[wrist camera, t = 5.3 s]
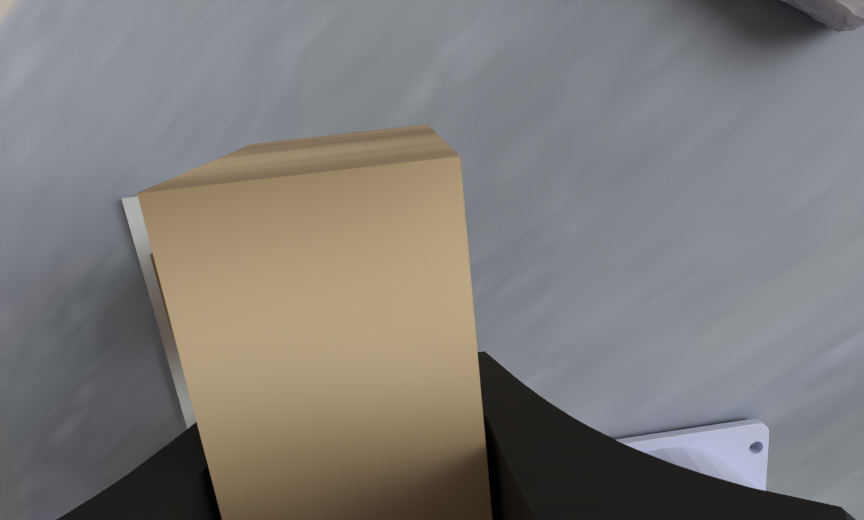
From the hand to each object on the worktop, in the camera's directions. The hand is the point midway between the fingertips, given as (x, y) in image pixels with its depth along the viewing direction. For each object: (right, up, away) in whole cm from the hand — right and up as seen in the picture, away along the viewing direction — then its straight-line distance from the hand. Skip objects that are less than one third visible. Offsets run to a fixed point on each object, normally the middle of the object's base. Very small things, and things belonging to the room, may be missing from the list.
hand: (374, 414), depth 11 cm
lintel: (0, 0, +1) cm, 1 cm away
